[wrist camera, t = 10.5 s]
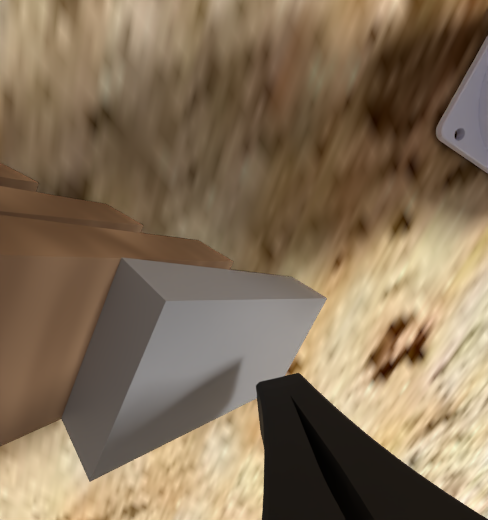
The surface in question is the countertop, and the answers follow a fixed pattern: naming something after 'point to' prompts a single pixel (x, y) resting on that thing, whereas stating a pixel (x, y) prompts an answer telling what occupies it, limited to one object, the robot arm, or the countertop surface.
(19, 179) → the domino
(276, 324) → the domino
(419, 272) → the countertop surface
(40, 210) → the domino
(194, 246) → the domino
